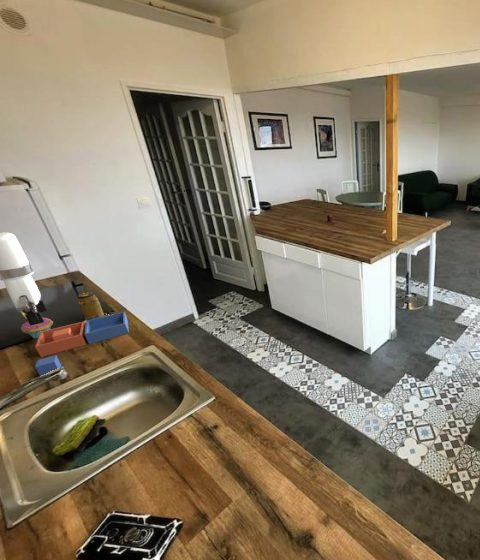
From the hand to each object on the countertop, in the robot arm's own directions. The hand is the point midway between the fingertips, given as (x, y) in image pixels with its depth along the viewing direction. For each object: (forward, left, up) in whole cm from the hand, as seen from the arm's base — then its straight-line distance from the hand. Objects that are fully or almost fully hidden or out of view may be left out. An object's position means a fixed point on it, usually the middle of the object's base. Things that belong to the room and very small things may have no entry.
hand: (39, 317), depth 106 cm
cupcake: (-7, +23, -17) cm, 29 cm away
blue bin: (+14, +10, -17) cm, 24 cm away
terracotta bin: (+1, +10, -17) cm, 19 cm away
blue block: (-1, -9, -17) cm, 19 cm away
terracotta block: (+1, +10, -16) cm, 19 cm away
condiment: (+10, +26, -17) cm, 32 cm away
